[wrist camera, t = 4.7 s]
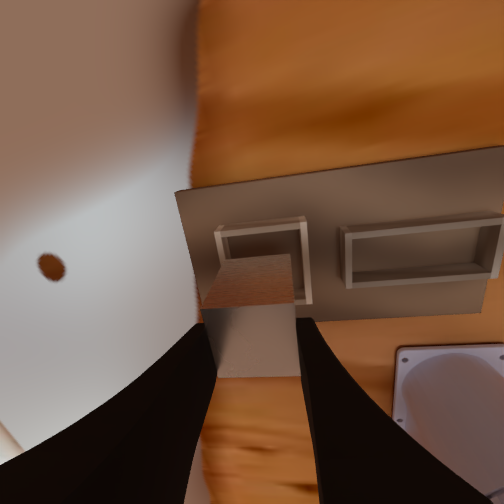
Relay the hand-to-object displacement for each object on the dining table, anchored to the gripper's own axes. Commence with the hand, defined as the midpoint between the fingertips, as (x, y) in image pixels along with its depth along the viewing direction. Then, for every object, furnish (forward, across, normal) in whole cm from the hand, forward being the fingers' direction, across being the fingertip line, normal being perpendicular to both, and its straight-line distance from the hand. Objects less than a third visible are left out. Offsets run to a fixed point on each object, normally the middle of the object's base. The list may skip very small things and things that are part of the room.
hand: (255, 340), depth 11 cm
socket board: (+9, -4, 0) cm, 10 cm away
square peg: (+4, 0, 0) cm, 4 cm away
